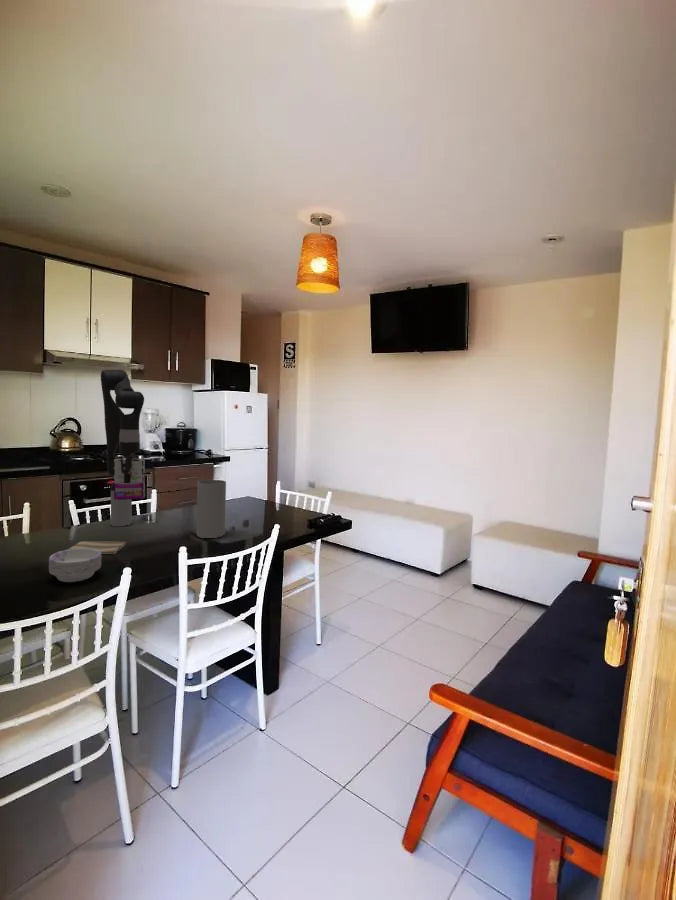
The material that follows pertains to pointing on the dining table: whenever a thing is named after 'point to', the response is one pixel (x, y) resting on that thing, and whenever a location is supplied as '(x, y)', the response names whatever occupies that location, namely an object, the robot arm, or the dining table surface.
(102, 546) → the birch board
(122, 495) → the candy bar box
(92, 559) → the paper bowls
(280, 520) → the dining table surface
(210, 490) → the cylinder vase
